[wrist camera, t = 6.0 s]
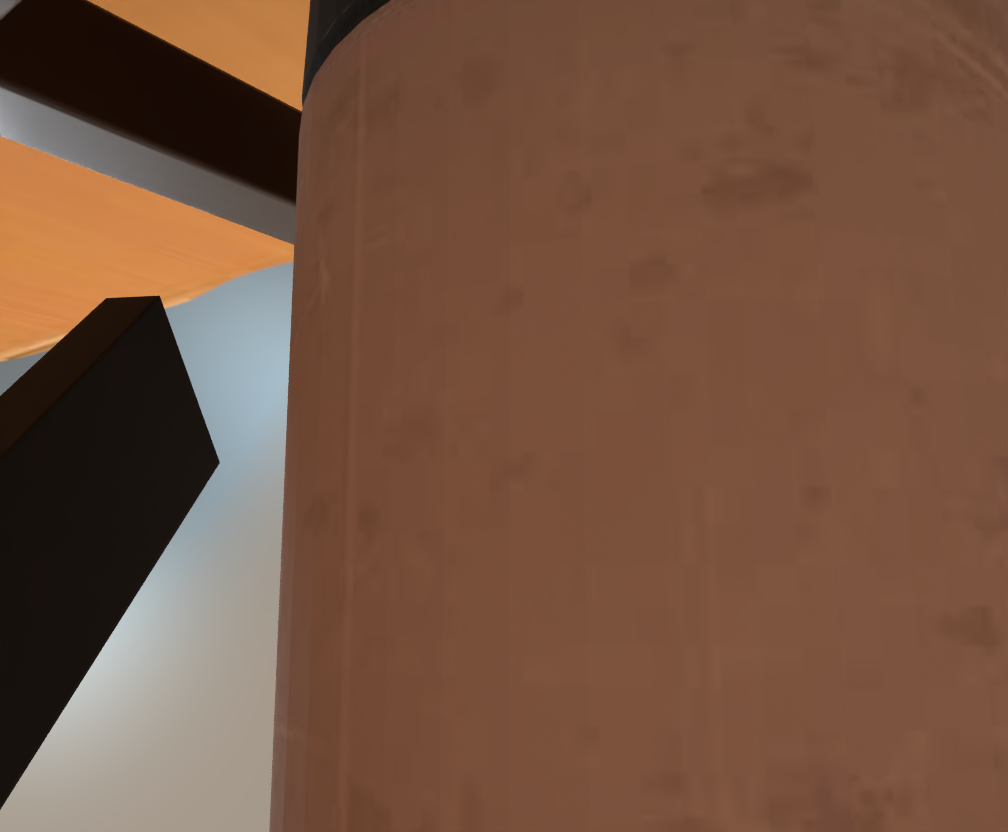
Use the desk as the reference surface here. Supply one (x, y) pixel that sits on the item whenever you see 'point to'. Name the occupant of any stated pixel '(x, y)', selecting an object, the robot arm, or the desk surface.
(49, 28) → the rack
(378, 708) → the travel mug
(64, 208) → the desk surface
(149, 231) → the desk surface
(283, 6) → the desk surface
